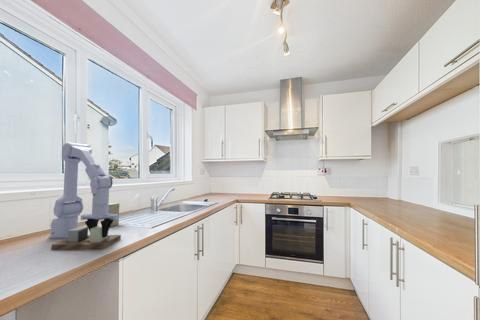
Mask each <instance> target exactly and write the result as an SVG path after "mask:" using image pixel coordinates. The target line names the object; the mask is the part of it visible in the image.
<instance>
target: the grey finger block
mask: <svg viewBox="0 0 480 320" xmlns="http://www.w3.org/2000/svg"><path fill="white" fill-rule="evenodd" d="M88 235H89V229H88V227H87V226H78V227H77V228H74V229H71V230H69V231H68V243H79V242H81V241H83V240H85V239H87V238H88Z"/></svg>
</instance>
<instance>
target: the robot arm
mask: <svg viewBox="0 0 480 320" xmlns="http://www.w3.org/2000/svg"><path fill="white" fill-rule="evenodd" d="M92 152H93V148H92V146H91V145H90V144H85V143H76V142H75V143H74V142H69V141H67V142H65V143H63V145H62V148H61V160H63V161H64V178H63V180H64V181H63V195H62V196H60V198H57V199H56V200H55V202H54V207H53V214H54V216H55V217H53V219H51V222H50V231H49V232H50V235H49V236H48V238H51V239H54V238H55V239H56V238H57V239H58V238H63V239H67V238H68V231H69V230H71V229H74V228H77V227H79V226H78V225H79V216H80V221H83V220H86V221H84V225H85V226H86V227H88V232H90V229H91V228H94V227H96V226H98V224H99V221H100V220H101V221H100V225H102V238H104V237H106V236H107V233H108V234H109V230H110V228H111V227H112V226H111V224H112V222H113V221H114V220H117V219H119V220H120V213H119V214H108V204H110V203H109V200H110V199H109V198H110V189H111V188H112V187H113V178H112V176H111V175H108V174H106V173H105V172H104V170H103V167H101V165H100V164H99V163H96V162H95V160H94V157H93V155H92V154H93V153H92ZM80 162H82V163H83V165H84V166H85V170H84V171H85V173H86V175H87V177H88V178H89V181H90V183H89V186H90V189H91V190H90V192H91V194H92V203H91V204H92V206H91V213H89V214H88V213H87V214H85V213H83V214H82V212H83V211H84V204H83V203H84V202H83V198H81V197H80V196H78V175H79V163H80ZM110 226H111V227H110Z"/></svg>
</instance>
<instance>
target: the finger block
mask: <svg viewBox="0 0 480 320" xmlns="http://www.w3.org/2000/svg"><path fill="white" fill-rule="evenodd" d="M89 235H90V242H102V241H104V240H105V239H107V238H108V235H109V232H108V233H107V236H106V237H104V238H102V225H101V224H99V225H98V224H97V226H96V227H94V228H91V229H90V231H89Z"/></svg>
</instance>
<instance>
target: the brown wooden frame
mask: <svg viewBox="0 0 480 320" xmlns="http://www.w3.org/2000/svg"><path fill="white" fill-rule="evenodd" d="M121 237H122V235H121V234H108V238H107V239H105V240H104V241H102V242H90V234H88V238H87V239H85V240H83V241H81V242H79V243H68V238H63V239H62V240H59V241H57V242H55V243H52V244H51V250H52V251H58V250H61V251H62V250H63V251H69V250H75V251H77V250H80V251H82V250H83V251H84V250H86V251H87V250H89V251H90V250H91V251H92V250H94V251H96V250H98V251H99V250H102V251H105V249H107V248H109V247H110V246H112V245H113V244H115V243H117V242H119V241H121V239H122V238H121Z"/></svg>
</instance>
